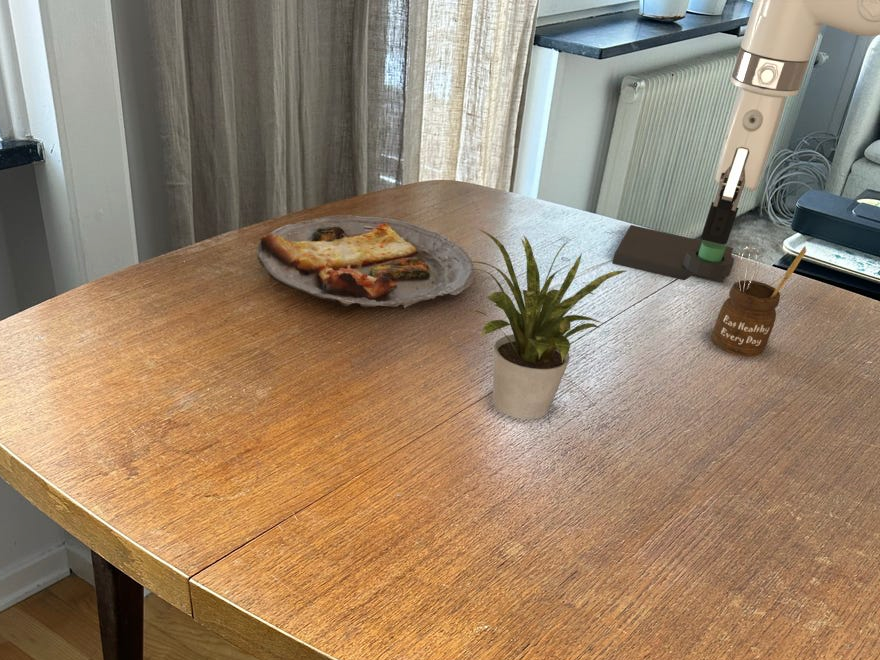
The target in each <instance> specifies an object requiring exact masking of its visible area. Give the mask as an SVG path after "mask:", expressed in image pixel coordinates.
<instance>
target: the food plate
mask: <svg viewBox="0 0 880 660" xmlns="http://www.w3.org/2000/svg"><path fill="white" fill-rule="evenodd" d="M259 240H260V241H259V244H258V245H257V254H256V258H257V260H258V261H259V264H260V265H261V266H262V268H263V269H264V271H265V272H266V273H267V275H269V277H270V278H271V280H274V281H275V282H277V283H279V284H280V285H282V286H284V287H286V288H289V289H292V290H295V291H299V292H302V293H303V294H306V295H308V296H309V297H311V298H313V299H315V300H316V299H317V300H323V301H325V302H331V303H334V307H336V306H337V305H338V304H337V301H338V302H339V305H342V306H343V307H344V306H345V307H348V306H351V305H352V304H359V305H360V308H361V307H362V308H373V307H377V306H380V307H395V308H397V307H399V306H400V305H402V306H403V309H406V308H408V307H410V306H412V305H415V304H417V303H420V302H422V301H429V300H431V299H432V300H434V299H435V298H436V297H439V296H441V297H443V296H445V295H448V294H449V295H452V296H457V295H458V294H460V293H463V291H465V290H467V288H468V287H470V286H471V285H472V283H473V280H474V279H473V278H474V272H473V271H474V270H473V269H474V263H473V262H471V261H473V260H472V259H471V257H470V256H469V254H468V251H465V248H463V246H461V245H459V244H458V243H456V242H455V241H453V240H451V239H449V238H447V236H445V235H443V233H440V232H437V231H434V230H431V229H429V228H425V227H422V226H421V225H418V224H413V223H410V222H408V221H407V222H406V221H403V220H398V219H397V220H396V219H393V218H385V217H379V216H377V217H371V216H370V217H369V216H367V217H366V216H356V215H353V214H338V215H337V214H336V215H327V216H321V217H316V218H313V219H307V220H302V221H298V222H293V223H289V224H285V225H283V226H281V227H279V228H276V229H275V230H273V231H271V232H269V234H266V235H265V236H261V237H260V238H259Z"/></svg>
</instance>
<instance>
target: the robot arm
mask: <svg viewBox="0 0 880 660" xmlns="http://www.w3.org/2000/svg"><path fill="white" fill-rule="evenodd" d="M750 11H751V12H750V14H749V18H748V21H747V24H746V27H745V31H744V34H743V38H742V40H741V44H740V47H739V51H738V54H737V58H736V61H735V63H734V67H733V71H732V74H731V77H730V83H731V84H732V85H733V86H735V87H738V92H737V95H736V97H735V101H734V103H733V108H732V111H731V115H730V117H729V121H728V125H727V129H726V132H725V134H724V139H723V142H722V146H721V151H720V153H719V154H720V155H719V159H718V164H717V169H716V173H715V177H714V180H715V182H716V183H717V185H719V186H718V189H717V192H716V195H715V198H714V201H712V202H711V204H710V208H709V211H708V214H707V216H706V219H705V223H704V227H703V230H702V232H701V237H700V238H701V240H702V241H705V240H706V241H710V242H715V243H719V244H724V245H727V243H728V241H729V238H730V235H731V231H732V229H733V227H734V223H735V220H736V217H737V215H738V211H739V207H738V205H739V203H740V199H741V197H742V196H741V195H742V193H743V191H744V188H746V189H749V192H751V193H752V192H754V191H755V190H757V187H758V185H759V182H760V179H761V176H762V174H763V171H764V168H765V165H766V162H767V159H768V157H769V153H770V150H771V148H772V144H773V142H774V138H775V136H776V133H777V129H778V127H779V123H780V121H781V117H782V114H783V111H784V108H785V103H786V99H787V97H794V96H798V94H799V91H800V88H801V85H802V82H803V79H804V76H805V75H806V71H807V68H808V66H809V63H810V60H811V57H812V54H813V52H814V48H815V45H816V42H817V39H818V36H819V33H820V31H821V29H822V25H826V26H829V27H832V28H835V29H838V30H841V31H843V32H846V33H848V34H852V35H856V36H858V37H859V36H860V37H876V36H880V0H754V2H753V5H752V8H751V10H750Z"/></svg>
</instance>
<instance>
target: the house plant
mask: <svg viewBox="0 0 880 660" xmlns="http://www.w3.org/2000/svg"><path fill="white" fill-rule="evenodd" d="M476 229H477V230H478V231H480V232H482V233H484V234H485V235H487V236H488V237H489V238H490V239H491V240H492V241H493V242H494V243H495V245H496V246H497V247H498V249H499V250H500V252H501V254H502V256H503V260H504V263H505V265H506V268H507V271H508V274H509V277H510V278H509V277H508V276H507V274H505V273H504V272H503V271H502V270H501V269H499V268H498V267H495V266H494V265H491V264H489V263H486V262H483V261H476V260H475V261H474V260H472V261H471V262H473V263H472V264H474V263H475V264H482V265H486V266H489V267H491V268H494V269H495V270H496V271H497V272H499V273H500V275H501V276H502V277H503V279H504V280H505V282H506V283H507V285H508V287H509V289H510V291H511V293H512V295H513V298H514V299H515V302H516V305H517V308H518V309H517V308H516V306H515V304H514V301H513V300H512V299H511V297H510V296H509V295H508V294H507V293H506V292H505V290H504V289H503V286H502V284H501V283H500V282H499V280H498V279H497V278H496V277H495V276H494V275H493V274H491V273H490V272H489V271H486V270H483V269H479V268H473V271H481V272H483V273H486V274H488V275H489V276H490V277H491V278H492V279H493V280H494V281H495V283H496V284H497V286H498V288H499V289H500V291H495V292H493V293H490V294H488V295H487V296H486V298H487V299H488V300H489V301H491V302H492V303H494V306H495V307H498V308H500V309H501V310H502V311H503V312H504V314H505V316H506V318H507V319H508V321H506V320H503V319H494V320H493V319H491V318H490V321H488V322H487V323H486V324H485V326H484V327H483V329H482V331H481V334H480V336H479V338H478V339H481V337H483V336H484V335H487V334H490V333H493V332H495V331H498V330H500V331H501V332H502V334H503V335H504V336H502V337H499V338H498V339H497V340H496V341H494V344H493V346H492V347H493V348H492V405H494V407H495V409H497V410H498V411H499V412H501V413H502V414H504V415H507V416H509V417H512V418H516V419H521V420H522V419H523V420H535V419H540V418H542V417H544V416H546V415H547V414H548V413H549V410H550V409H551V406H552V404H553V401H554V398H555V396H556V394H557V392H558V389H559V386H560V384H561V382H562V379H563V377H564V375H565V372H566V370H567V367H568V366H569V362H570V359H571V357H570V354H569V352H570V348H571V342H570V340H569V339H568V338H569V337H571V336H573V335H574V334H576V333H579V332H581V331H583V330H587V329H591V328H597V329H601V330H602V331H603V329H602V328H601V327H600V326H598V325H597V324H595V323H589V322H587V323H582V324H580V325H577V326H576V327H574V328H572V329H571V323H572V322H574V321H575V322H576V321H593V322H596V323H600V324H601V323H603V322H602V321H601V320H597V319H595V318H593V317H590V316H586V315H585V316H584V315H579V314H569V315H566V314H567V313H568V312H569V311H570V310H572V308H573V307H574V306H575V305H576V304H578V303H579V302H580V301H581V300H582V299H583V298H586V296H588V295H590V294H591V295H594V293H593V292H594V291H596V289H597V288H599V287H600V286H601V285H602V284H603V283H604V282H606V281H607V280H609V279H611V278H613V277H615V276H619V275H620V274H623V273H625V272H627V270H616V271H615V270H614V271H609V272H608V273H605V274H603V275H601V276H599V277H596V278H595V279H594V280H592V281H591V282H589V283H588V284H587V285H585V286H584V287H583V288H581V289H580V290H578V291H577V292H576V293H575V294H574V295H572V296H570V297H567V298H566V299H564V300H563V298H564V296H565V294H566V293H567V291H568V290H569V288H570V286H571V285H572V283H573V281H574V279H575V277H576V274H577V273H578V269H579V266H580V264H581V259H582V255H583V253H582V252H581V253H580V255H579V256H578V257H577V259H576V260H575V261H574V264H573V265H572V267H571V268H570V269H569V271H568V272H567V274H566V276H565V279H564V280H563V283H562V284H561V286H560V288H559V289H554V288H553V289H550V290H549V288H550V285H551V284H552V281H553V280H554V278H555V275H556V274H557V273H558V272H561V270H563V269H565V268H567V267H569V266H570V265H571V263H569V264H567V265H566V266H564V267H562V268H559V269H558V270H557V271H555V272H554V273H552V274H551V275H550V273H551V271H552V268H553V266H554V264H555V262H556V259H557V257H558V256H559V254H560V253H561V251H562V250H563V248H565V246H566V245H567V243H569V240H567V241H566V242H565V243H564V244H563V245H562V246H561V247H560V248H559V249H558V251H557V253H556V255H555V256H554V258H553V260H552V263H551V265H550V268H549V270H548V273H547V276H546V278H545V281H544V284H543V286H542V288H541V279H540V278H541V277H540V272H539V267H538V264H537V261H536V258H535V256H534V252H533V248H532V246H531V244H530V241H529V239H528V238H527V237H526V236H525V235H523V238H524V240H523V238H520V239H521V244H522V246H523V248H524V253H525V258H526V274H525V275H526V288H527V289H523V290H522V291H521V288H520V285H519V282H518V279H517V276H516V272H515V269H514V266H513V263H512V261H511V258H510V255H509V253H508V251H507V250H506V247H505V246H504V244H503V243H502V242H501V241H500V240H498V239H497V238H496V237H494V236H493V235H492V234H491V233H488V232H486V231H484V230H482V229H480V228H478V227H477V228H476ZM562 300H563V301H562ZM467 312H472V313H478V314H481V315H483V316H485V317H488V315H487V313H485V312H482V311H480V310H476V309H470V310H469V309H467ZM508 326H510V328H511V331H512V334H508V335H507V334H506V333H505V332H504V331H503V330H502V329H503V328H506V327H508Z"/></svg>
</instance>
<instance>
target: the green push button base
mask: <svg viewBox="0 0 880 660" xmlns="http://www.w3.org/2000/svg"><path fill="white" fill-rule="evenodd" d="M703 241H704V240H702V239H695V238H692V237H687V236H682V235H678V234H674V233H670V232H669V233H668V232H664V231H660V230H656V229H651V228H648V227H647V228H646V227H643V226H638V225H634V224H630V225H629V227H628V229H627V231H626V232H625V234H624V236H623V238H622V239H621V241H620V243H619V245H618V247H617V249H616V250H615V252H614V254H613V255H614V256H613V258H612V262H611V263H612V264H613V265H616V266H621V267H626V268H630V269H635V270H639V271H641V272H642V271H643V272H646V273H652V274H655V275H661V276H664V277H669V278H673V279H677V280H681V281H686V280H687V279H689V278H691V277H695V278H698V279H703V280H708V281H711V282H716V283H721V284H724V280H725V279H726V277H729V276H730V274H731V272H732V268H733V265H734V262H735V258H733V257H732V254H733V251H734V247H731V246H727V245H725V246H726V249H725V252H724V255H723V258H722V261H721V262H712V261H708V260H704V259H702V258H700V257H698V253H699V250H700V247H701V243H702V242H703Z"/></svg>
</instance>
